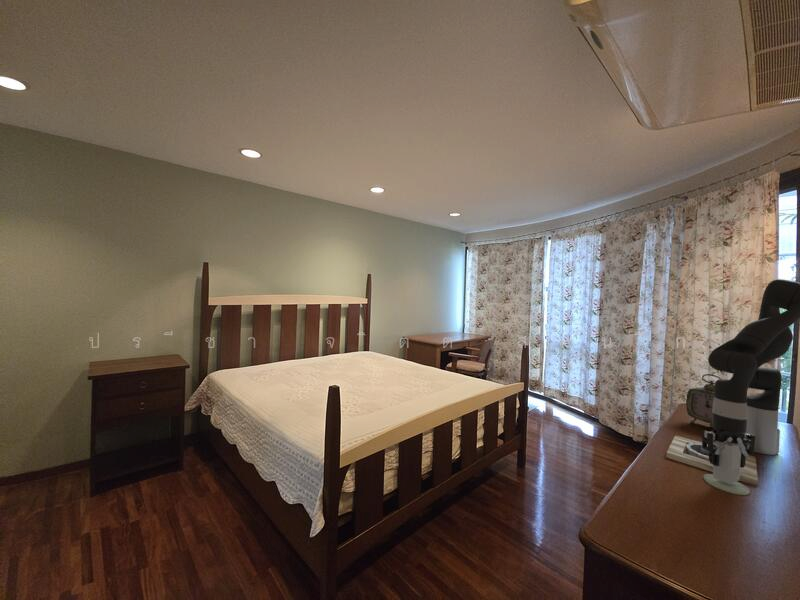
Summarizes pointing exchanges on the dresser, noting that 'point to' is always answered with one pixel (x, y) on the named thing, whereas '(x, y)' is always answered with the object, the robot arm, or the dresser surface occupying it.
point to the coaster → (727, 485)
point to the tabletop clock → (701, 402)
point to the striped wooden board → (678, 450)
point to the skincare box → (728, 463)
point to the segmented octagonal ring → (696, 451)
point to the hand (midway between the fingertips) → (726, 465)
